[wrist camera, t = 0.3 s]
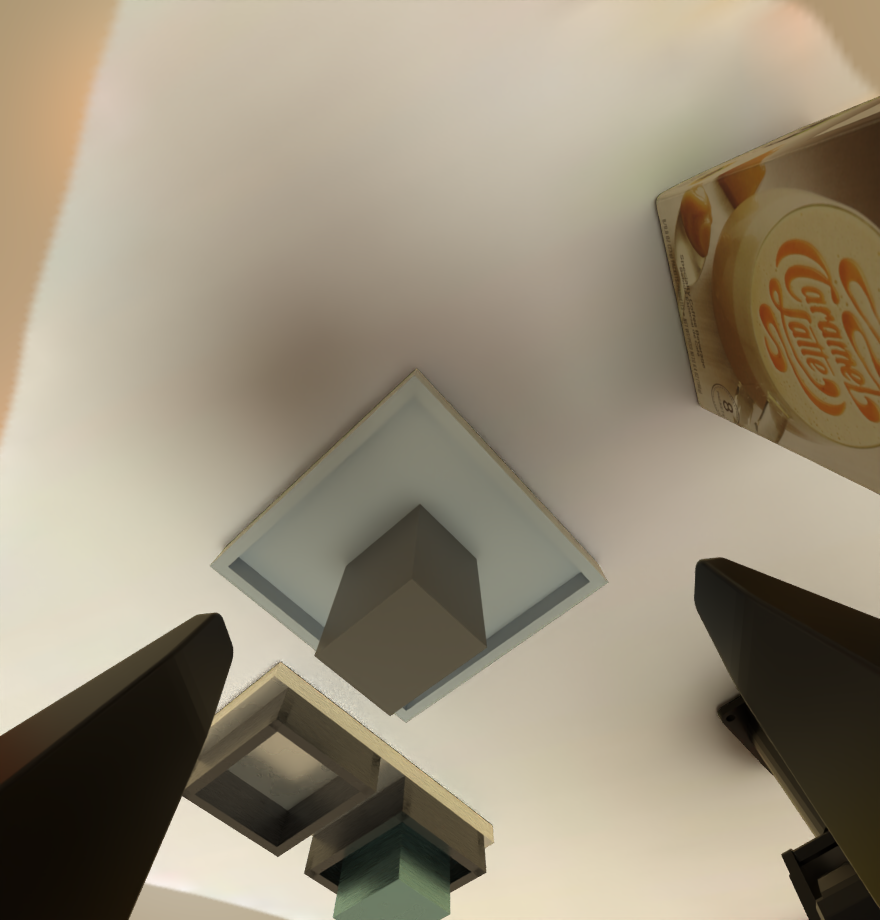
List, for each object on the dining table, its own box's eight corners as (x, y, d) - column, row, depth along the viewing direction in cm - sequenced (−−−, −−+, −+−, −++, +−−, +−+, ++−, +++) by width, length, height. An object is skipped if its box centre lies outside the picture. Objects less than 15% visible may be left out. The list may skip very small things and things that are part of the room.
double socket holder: (492, 825, 31) (501, 923, 26) (403, 878, 32) (396, 978, 28) (280, 661, 26) (244, 744, 21) (191, 733, 28) (140, 824, 23)
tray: (597, 563, 24) (608, 582, 22) (408, 698, 27) (406, 722, 25) (416, 368, 20) (414, 374, 19) (224, 548, 24) (209, 565, 22)
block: (476, 559, 23) (487, 647, 17) (402, 616, 24) (390, 716, 19) (419, 503, 22) (411, 578, 16) (346, 566, 23) (314, 656, 18)
